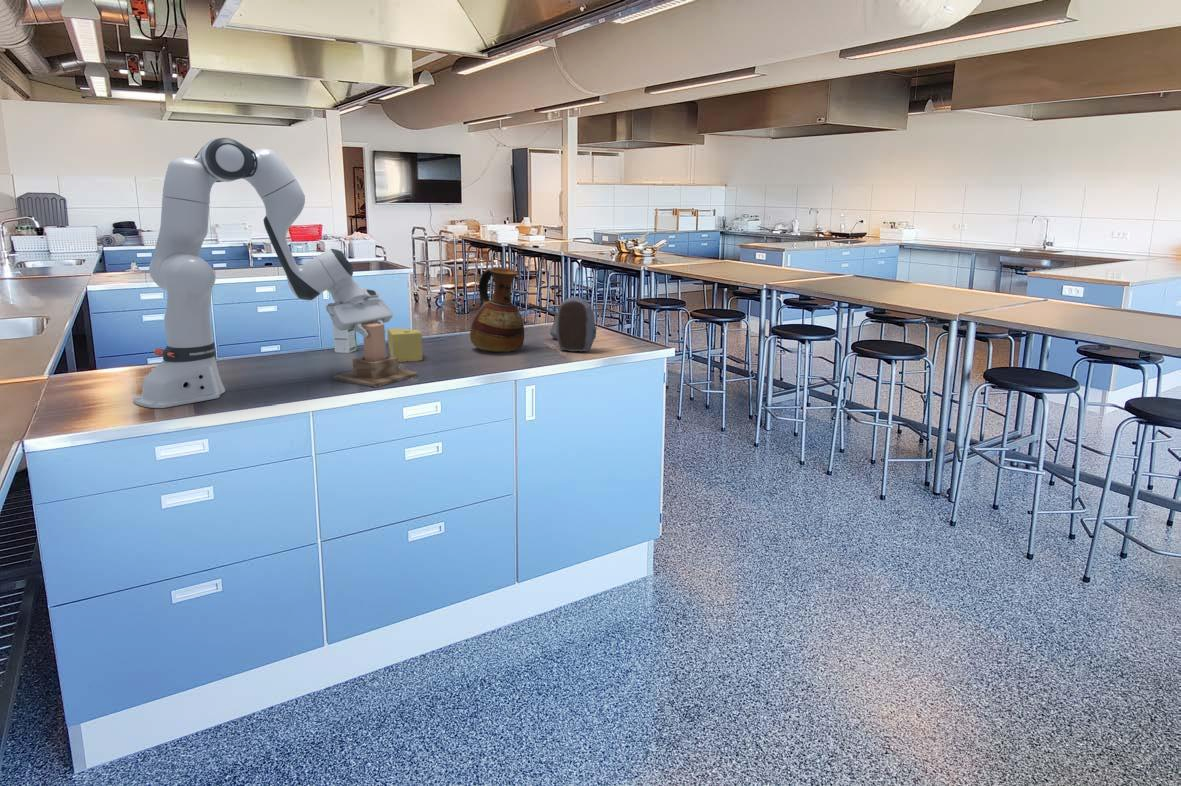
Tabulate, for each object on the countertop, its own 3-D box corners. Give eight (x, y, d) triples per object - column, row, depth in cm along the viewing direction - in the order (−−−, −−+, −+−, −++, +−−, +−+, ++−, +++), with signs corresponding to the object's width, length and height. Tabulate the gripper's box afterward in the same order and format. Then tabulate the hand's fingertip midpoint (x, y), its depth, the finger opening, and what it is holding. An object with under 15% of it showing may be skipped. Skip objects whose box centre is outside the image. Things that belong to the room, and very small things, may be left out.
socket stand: (374, 387, 217) (373, 367, 215) (333, 379, 226) (331, 359, 224) (418, 375, 231) (417, 357, 230) (378, 368, 240) (377, 350, 239)
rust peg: (375, 365, 224) (372, 326, 221) (365, 363, 227) (362, 325, 224) (386, 362, 228) (384, 324, 225) (376, 360, 230) (374, 323, 227)
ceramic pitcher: (502, 358, 257) (501, 271, 250) (458, 351, 268) (456, 267, 260) (535, 348, 274) (535, 267, 266) (493, 342, 284) (491, 263, 276)
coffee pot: (571, 335, 300) (572, 298, 296) (583, 340, 290) (583, 302, 286) (522, 338, 292) (521, 301, 288) (532, 344, 282) (532, 305, 278)
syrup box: (349, 353, 261) (346, 312, 257) (334, 352, 262) (330, 312, 258) (357, 350, 266) (354, 310, 263) (342, 349, 268) (339, 309, 264)
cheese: (418, 354, 261) (417, 326, 258) (423, 361, 251) (422, 332, 249) (388, 356, 257) (387, 328, 255) (392, 363, 248) (390, 334, 245)
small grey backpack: (553, 351, 270) (553, 296, 265) (561, 347, 277) (561, 293, 272) (592, 354, 265) (593, 299, 260) (599, 350, 273) (600, 296, 268)
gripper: (327, 297, 217) (352, 334, 215) (381, 290, 234) (404, 323, 231) (319, 311, 220) (343, 347, 218) (372, 302, 237) (395, 336, 235)
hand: (375, 335), depth 225 cm, fingers closed on rust peg, 4 cm apart
